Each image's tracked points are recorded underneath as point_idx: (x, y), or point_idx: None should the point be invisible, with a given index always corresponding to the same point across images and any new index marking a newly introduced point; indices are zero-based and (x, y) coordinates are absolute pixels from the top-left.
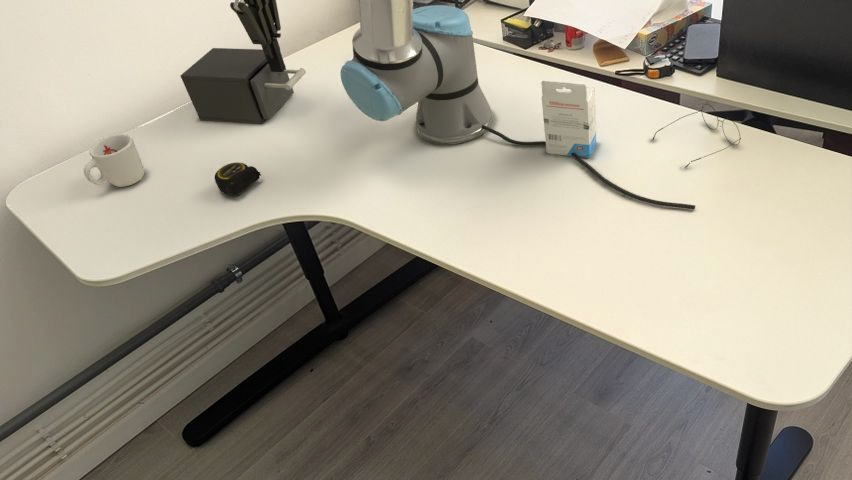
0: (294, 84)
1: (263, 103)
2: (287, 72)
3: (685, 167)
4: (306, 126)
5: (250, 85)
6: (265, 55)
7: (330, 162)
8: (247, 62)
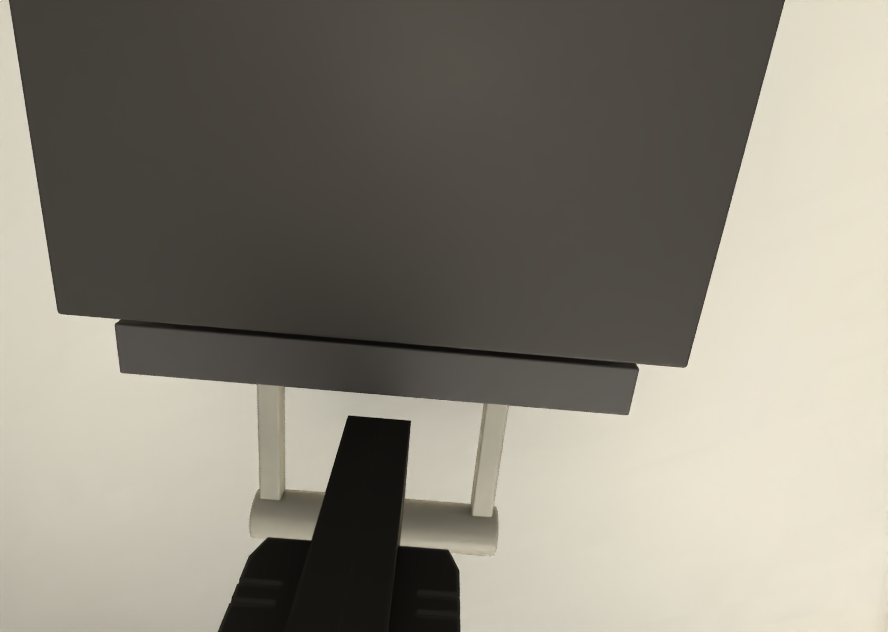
0: None
1: None
2: (480, 432)
3: None
4: (250, 453)
5: None
6: (243, 576)
7: (12, 628)
8: (402, 181)
